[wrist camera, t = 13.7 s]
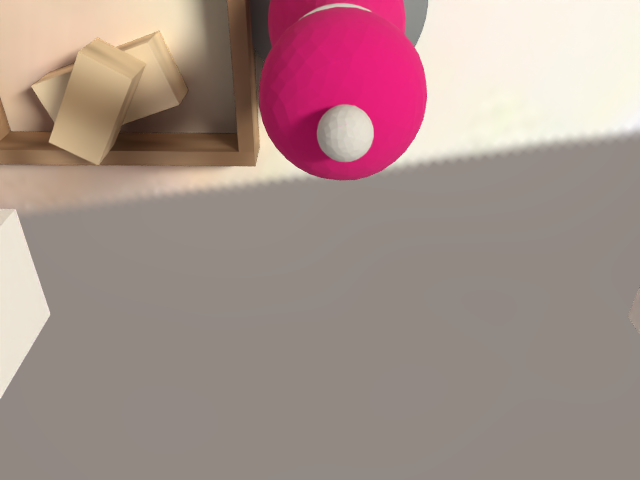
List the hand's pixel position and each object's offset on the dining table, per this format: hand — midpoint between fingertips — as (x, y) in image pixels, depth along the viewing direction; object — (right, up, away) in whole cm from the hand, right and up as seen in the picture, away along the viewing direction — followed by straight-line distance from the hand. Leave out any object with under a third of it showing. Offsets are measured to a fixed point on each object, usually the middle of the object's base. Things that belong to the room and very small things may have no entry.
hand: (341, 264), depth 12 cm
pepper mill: (0, +14, +22) cm, 26 cm away
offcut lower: (-13, +11, +25) cm, 31 cm away
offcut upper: (-13, +9, +23) cm, 28 cm away
